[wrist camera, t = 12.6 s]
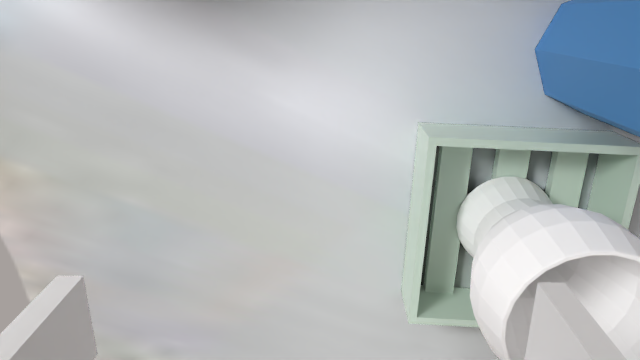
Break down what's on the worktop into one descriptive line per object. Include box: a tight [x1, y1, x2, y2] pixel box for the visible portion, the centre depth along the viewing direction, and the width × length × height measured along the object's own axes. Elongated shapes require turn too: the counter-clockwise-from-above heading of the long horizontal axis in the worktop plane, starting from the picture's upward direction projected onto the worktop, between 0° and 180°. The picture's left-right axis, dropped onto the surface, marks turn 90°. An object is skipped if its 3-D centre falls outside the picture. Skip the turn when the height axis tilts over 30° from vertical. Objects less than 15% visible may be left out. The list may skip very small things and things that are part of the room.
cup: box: [456, 177, 640, 360], centre depth 34 cm, size 11×11×15 cm
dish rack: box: [401, 122, 640, 327], centre depth 40 cm, size 15×15×5 cm
